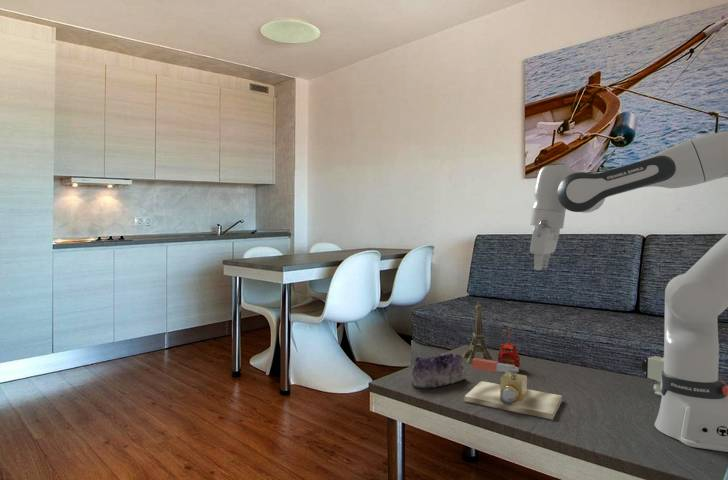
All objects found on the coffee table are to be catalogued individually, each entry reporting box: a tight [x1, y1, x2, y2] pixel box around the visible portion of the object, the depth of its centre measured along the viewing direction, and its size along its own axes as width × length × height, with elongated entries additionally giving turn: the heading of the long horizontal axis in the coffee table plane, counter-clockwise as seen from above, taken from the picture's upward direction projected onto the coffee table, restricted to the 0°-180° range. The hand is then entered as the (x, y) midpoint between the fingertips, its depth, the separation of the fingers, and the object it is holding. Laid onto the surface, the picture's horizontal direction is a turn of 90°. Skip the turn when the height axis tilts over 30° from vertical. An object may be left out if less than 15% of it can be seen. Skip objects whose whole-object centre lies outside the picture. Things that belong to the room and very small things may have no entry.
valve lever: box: [471, 357, 520, 377], centre depth 138 cm, size 13×3×3 cm, turn 59°
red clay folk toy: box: [497, 325, 521, 369], centre depth 166 cm, size 8×7×15 cm
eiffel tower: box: [460, 303, 494, 364], centre depth 178 cm, size 11×11×25 cm
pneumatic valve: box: [640, 355, 664, 397], centre depth 141 cm, size 6×12×12 cm, turn 32°
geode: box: [411, 353, 467, 390], centre depth 151 cm, size 20×12×10 cm, turn 129°
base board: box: [463, 380, 563, 421], centre depth 135 cm, size 24×16×2 cm, turn 59°
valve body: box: [499, 372, 528, 405], centre depth 135 cm, size 6×16×6 cm, turn 149°
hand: (540, 268), depth 133 cm, fingers open, 8 cm apart
